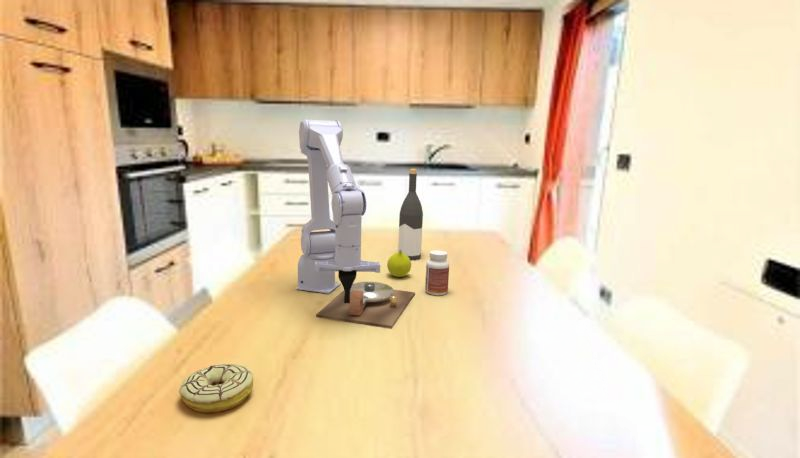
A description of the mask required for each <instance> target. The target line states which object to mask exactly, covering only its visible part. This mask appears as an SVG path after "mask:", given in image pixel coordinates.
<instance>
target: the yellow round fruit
mask: <svg viewBox="0 0 800 458" xmlns="http://www.w3.org/2000/svg"><path fill="white" fill-rule="evenodd" d="M411 261H412V260H410V259H409V257H408V256H407V255H405V254H403V253H402V249H401V248H400V249H399V252H398V251H397V252H396V253H393V254H392V255H390V257H389V258H388V260H387V264H386V265H387V266H386V267H387V270H388V272H389V274H390V275H392V276H393V277H397V278H401V277H406V276H407V275H408V274H409V273H410V271H411V268H412V262H411Z"/></svg>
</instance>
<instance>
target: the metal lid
mask: <svg viewBox="0 0 800 458" xmlns="http://www.w3.org/2000/svg"><path fill="white" fill-rule="evenodd" d="M393 290H394V288H393V287H392V286H390V285H389V284H386V283H385V282H384V283H383V282H378V281H359V282H353V284H352V287H351V289H350V315H358V316H360V315H361V313H362V312H363V308H364V306H365V305H366V304H367V302H380V301H385V300H387V299H390V296H391V295H393Z"/></svg>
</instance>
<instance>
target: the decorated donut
mask: <svg viewBox="0 0 800 458" xmlns="http://www.w3.org/2000/svg"><path fill="white" fill-rule="evenodd" d="M253 387H254V373H252V371H251V370H250V369H248V368H247V366H245V365H239V364H232V363H230V364H225V363H224V364H214V365H213V364H212V365H209V366H207V367H204V368H201V369H198V370H197V371H194V372H192V373H191V374H190V375H188V376H186V377H185V378H184V379H183V380H182V382H181V383H180V387H179V389H178V393H179V395H180V397H181V400H182V401H183V402H184V404H185V405H186V406H187V407H189V408H190V409H192V410H194V411H195V412H198V413H201V414H202V413H206V414H209V413H211V414H213V413H219V412H223V411H224V412H225V411H228V410H231V409H233V408H236V407H237V406H238V405H240V404H242V403H243V402H244V401H245V400H246V398H247V397H249V395H250V393H251V392H252V389H253Z"/></svg>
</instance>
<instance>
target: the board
mask: <svg viewBox="0 0 800 458" xmlns="http://www.w3.org/2000/svg"><path fill="white" fill-rule="evenodd" d="M393 295H395V296H397V303H396V308H391V307H390V299H387V300H385V301H380V302H367V304H366V305H365V306H364V308H363V312H362V313H361V315H360V316H358V315H350V303H344V297H345V291H344V290H342V291H341V292H340V293H339V294H338V295H336V297H334V298H332V299H331V301H329V302H328V304H326V305H325V306H324V307H322V309H320V310H319V311H318V312H317V313H316V314H315V318H321V319H327V320H334V321H340V322H341V321H342V322H349V323H354V324H358V325H366V326H373V327H380V328H385V329H386V328H387V329H392V328H393V327H394V326H395V324H396V323H397V322H398V320H399V319H400V317H401V316H402V314H403V313H404V311H405V310H406V308H407V307H408V305H409V304H410V302H411V301H412V299H413V298H414V296H415V295H416V292H415V291H408V290H401V289H393Z"/></svg>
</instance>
